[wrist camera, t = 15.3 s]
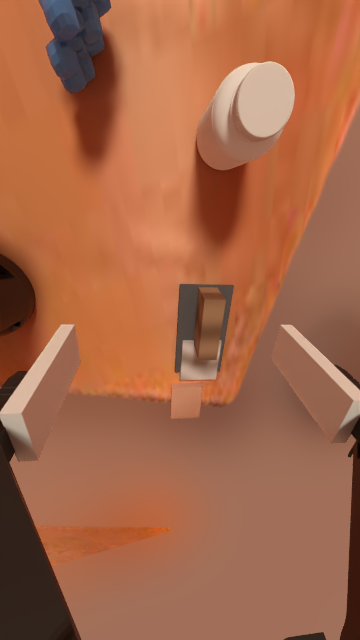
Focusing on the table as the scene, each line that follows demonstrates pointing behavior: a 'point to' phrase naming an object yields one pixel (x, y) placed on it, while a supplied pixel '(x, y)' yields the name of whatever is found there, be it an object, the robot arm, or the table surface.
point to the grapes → (74, 38)
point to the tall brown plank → (204, 337)
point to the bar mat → (188, 317)
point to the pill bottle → (245, 115)
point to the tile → (185, 400)
